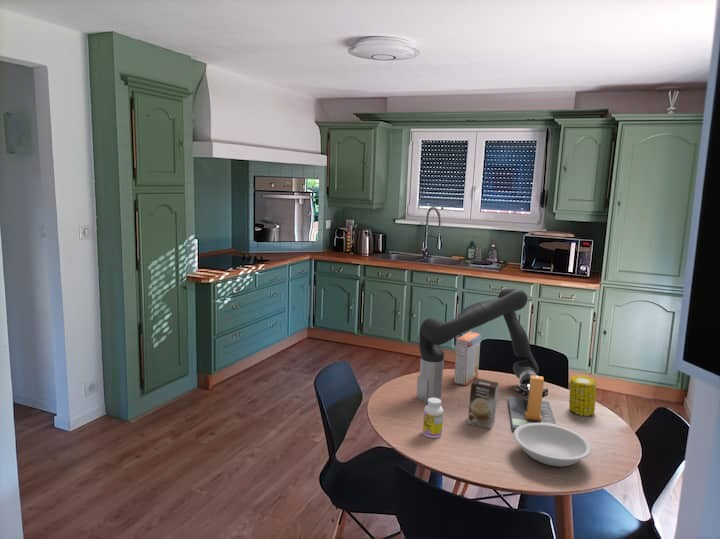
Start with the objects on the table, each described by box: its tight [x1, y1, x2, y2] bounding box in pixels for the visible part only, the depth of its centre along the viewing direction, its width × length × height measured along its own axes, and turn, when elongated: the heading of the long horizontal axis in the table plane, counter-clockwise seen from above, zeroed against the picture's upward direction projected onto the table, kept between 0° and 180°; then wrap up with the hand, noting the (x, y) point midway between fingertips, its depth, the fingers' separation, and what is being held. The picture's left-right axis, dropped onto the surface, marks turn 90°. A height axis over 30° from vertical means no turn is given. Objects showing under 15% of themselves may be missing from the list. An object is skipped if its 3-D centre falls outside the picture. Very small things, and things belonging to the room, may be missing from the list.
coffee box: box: [467, 377, 499, 430], centre depth 192 cm, size 9×6×16 cm
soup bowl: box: [513, 423, 593, 467], centre depth 170 cm, size 24×24×7 cm
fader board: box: [507, 396, 557, 433], centre depth 200 cm, size 28×16×4 cm, turn 168°
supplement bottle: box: [422, 398, 444, 439], centre depth 182 cm, size 7×7×13 cm
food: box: [568, 374, 597, 417], centre depth 206 cm, size 15×12×10 cm
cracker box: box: [453, 331, 482, 386], centre depth 233 cm, size 14×6×21 cm, turn 144°
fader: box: [525, 374, 545, 421], centre depth 195 cm, size 4×6×16 cm
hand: (534, 399), depth 196 cm, fingers closed
